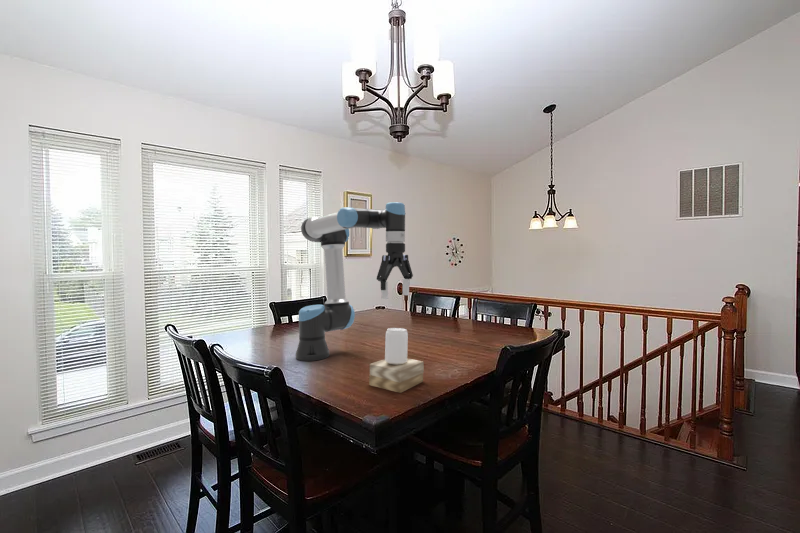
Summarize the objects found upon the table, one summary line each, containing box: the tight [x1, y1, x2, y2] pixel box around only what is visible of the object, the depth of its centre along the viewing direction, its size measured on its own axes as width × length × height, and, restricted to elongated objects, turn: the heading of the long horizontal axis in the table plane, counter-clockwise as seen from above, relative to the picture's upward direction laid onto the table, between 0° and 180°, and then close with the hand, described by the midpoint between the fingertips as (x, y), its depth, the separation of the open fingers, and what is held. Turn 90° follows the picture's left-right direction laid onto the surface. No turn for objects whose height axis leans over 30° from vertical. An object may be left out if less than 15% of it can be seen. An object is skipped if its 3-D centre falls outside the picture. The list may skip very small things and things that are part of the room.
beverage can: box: [384, 327, 409, 365], centre depth 141 cm, size 8×8×12 cm
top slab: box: [369, 357, 425, 383], centre depth 141 cm, size 14×14×4 cm
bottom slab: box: [368, 372, 424, 394], centre depth 141 cm, size 14×14×4 cm
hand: (395, 296), depth 152 cm, fingers open, 13 cm apart
